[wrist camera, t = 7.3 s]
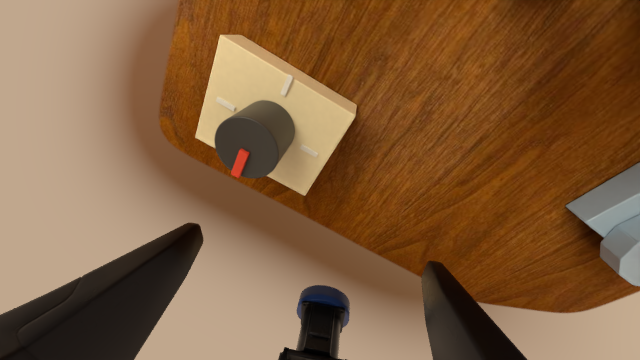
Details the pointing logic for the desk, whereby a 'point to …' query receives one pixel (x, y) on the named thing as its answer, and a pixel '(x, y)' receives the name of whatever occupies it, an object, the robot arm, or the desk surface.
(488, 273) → the desk surface
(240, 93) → the dial panel
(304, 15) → the desk surface
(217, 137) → the dial knob
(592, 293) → the desk surface
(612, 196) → the button box
